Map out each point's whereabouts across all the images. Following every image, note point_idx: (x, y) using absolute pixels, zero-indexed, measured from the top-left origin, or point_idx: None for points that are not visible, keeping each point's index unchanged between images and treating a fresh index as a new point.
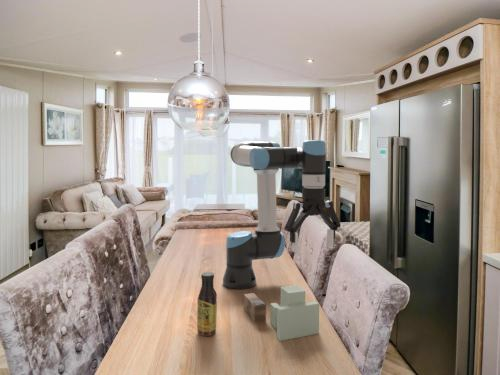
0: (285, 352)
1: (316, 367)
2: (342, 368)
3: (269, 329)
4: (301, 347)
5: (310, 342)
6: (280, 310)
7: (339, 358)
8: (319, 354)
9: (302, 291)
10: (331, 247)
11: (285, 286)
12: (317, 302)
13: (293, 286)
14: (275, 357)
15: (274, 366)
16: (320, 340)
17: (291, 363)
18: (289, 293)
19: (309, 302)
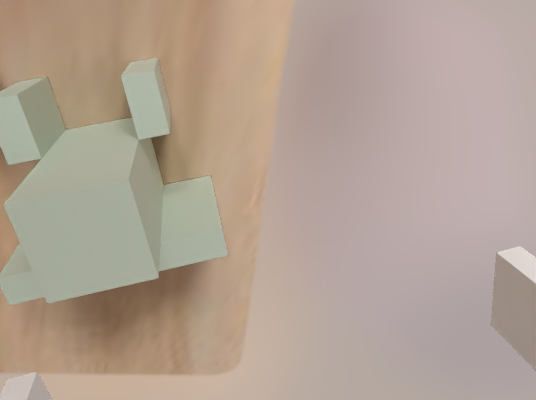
0: None
1: (144, 364)
2: (213, 368)
3: None
4: None
5: None
6: (15, 301)
7: (224, 331)
8: (173, 312)
9: (139, 282)
10: (503, 337)
11: (40, 200)
12: (223, 245)
13: (98, 207)
14: (24, 319)
15: (17, 358)
16: None
17: (74, 347)
18: (54, 300)
19: (183, 240)
